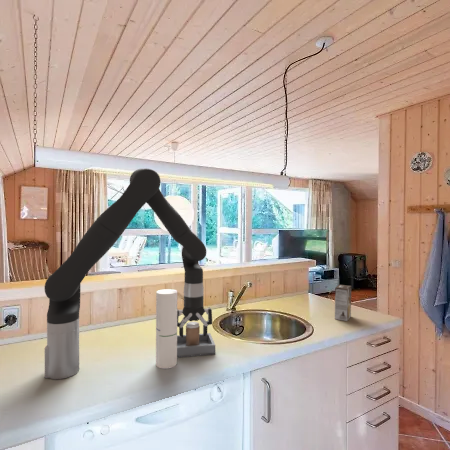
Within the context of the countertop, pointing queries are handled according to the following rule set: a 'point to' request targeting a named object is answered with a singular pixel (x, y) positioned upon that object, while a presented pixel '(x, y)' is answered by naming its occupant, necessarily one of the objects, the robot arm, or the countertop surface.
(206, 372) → the countertop surface
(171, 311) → the cylindrical container
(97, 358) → the countertop surface
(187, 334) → the shaker
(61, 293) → the robot arm
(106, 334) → the countertop surface
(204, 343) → the tray
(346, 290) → the coffee box
